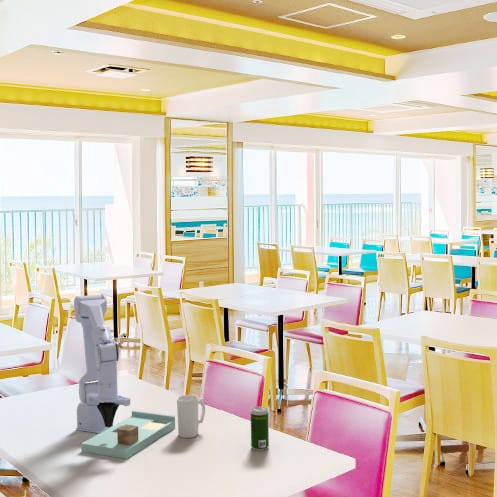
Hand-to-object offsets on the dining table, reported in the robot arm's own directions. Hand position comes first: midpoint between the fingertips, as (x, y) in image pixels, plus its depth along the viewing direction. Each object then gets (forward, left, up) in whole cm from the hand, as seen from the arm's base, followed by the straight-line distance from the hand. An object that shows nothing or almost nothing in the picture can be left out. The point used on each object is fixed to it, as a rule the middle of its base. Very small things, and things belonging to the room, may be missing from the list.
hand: (109, 426), depth 217 cm
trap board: (+2, +8, -7) cm, 11 cm away
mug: (+18, +20, -7) cm, 28 cm away
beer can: (+43, +16, -7) cm, 46 cm away
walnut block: (+7, 0, -4) cm, 8 cm away
